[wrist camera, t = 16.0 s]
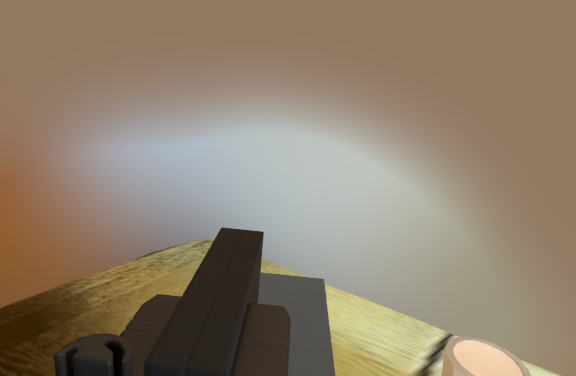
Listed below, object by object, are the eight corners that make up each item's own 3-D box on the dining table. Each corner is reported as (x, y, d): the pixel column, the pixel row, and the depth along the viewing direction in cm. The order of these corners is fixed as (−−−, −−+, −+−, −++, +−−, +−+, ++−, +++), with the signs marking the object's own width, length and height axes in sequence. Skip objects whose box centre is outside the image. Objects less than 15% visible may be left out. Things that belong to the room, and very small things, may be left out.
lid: (206, 273, 36) (207, 266, 36) (323, 285, 36) (324, 278, 36) (140, 404, 21) (140, 393, 21) (338, 425, 21) (340, 414, 21)
